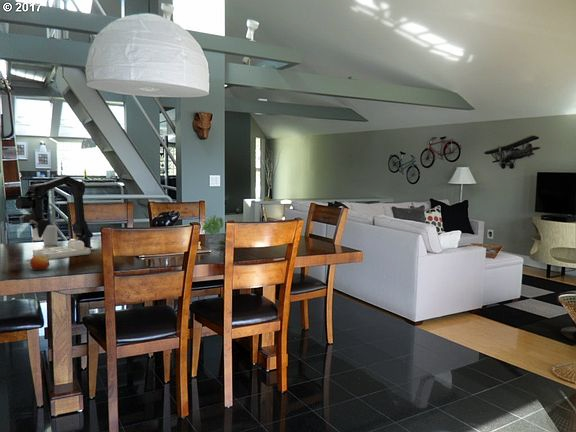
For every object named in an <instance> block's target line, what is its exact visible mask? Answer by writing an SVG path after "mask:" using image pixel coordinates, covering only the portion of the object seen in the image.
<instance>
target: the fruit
mask: <svg viewBox="0 0 576 432" xmlns="http://www.w3.org/2000/svg"><path fill="white" fill-rule="evenodd" d="M50 265H51V264H50V259H47V257H45V256H43V255H35V256H33V257H32V258H31V259H30V267H31V271H39V272H42V271H44V270H47V269H48V268H49V266H50Z"/></svg>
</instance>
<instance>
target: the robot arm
mask: <svg viewBox="0 0 576 432" xmlns="http://www.w3.org/2000/svg"><path fill="white" fill-rule="evenodd" d="M63 185H65V187H67V188H69V191H70V194H71V195H72V197H73V207H74V216H75V222H74V223H72V224H71V225H72V226H71V227H72V232H73V233H74V234H75V238H77V239H76V240H77V241H78V240H80V241H83V243H84V247H87V248H93V246H92V244H91V243H92V241H91V240H92V239H91V238H93V236H94V233H93V232H92V231H90V228H89V224H88V223H87V221H86V217H85V209H84V208H85V207H84V198H83V197H84V195H85V192H86V183H85V182H83V181H79V180H77V179H75V178H72V177H71V176H69V175H62V176H59V177H57V178H54V179H52V180H49V181H46V182H43V183H35V184H31V185H29V186H28V189H27V191H26V193H25V194H24V196H20V195H19V196H17V198H16V199H15V202H14V206H15V209H17V210H29V211H28V213H26V214H23V215H20V216H18V218H19V221H20V222H21V223H22V224H28V225H29V226H30V227H31V229H32V230H33V229H34V228H37V231H38V236H39V238H41V237H42V235H43V233H44V231H45V229H46V227H47V226H49V225H51V221H50V219H48V218H45V217H44V216H45V215H44V213H45V210H44V200H48V198H47V197H46V196H45V194H47V193H48V192H49V191H50V190H53V189H55V188H58V187H60V186H63Z"/></svg>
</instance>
